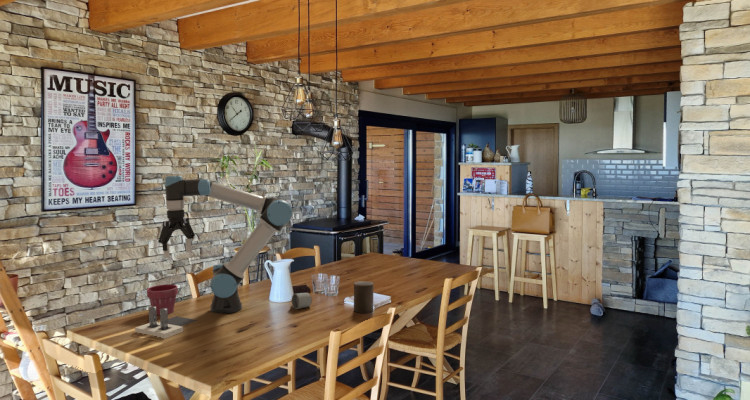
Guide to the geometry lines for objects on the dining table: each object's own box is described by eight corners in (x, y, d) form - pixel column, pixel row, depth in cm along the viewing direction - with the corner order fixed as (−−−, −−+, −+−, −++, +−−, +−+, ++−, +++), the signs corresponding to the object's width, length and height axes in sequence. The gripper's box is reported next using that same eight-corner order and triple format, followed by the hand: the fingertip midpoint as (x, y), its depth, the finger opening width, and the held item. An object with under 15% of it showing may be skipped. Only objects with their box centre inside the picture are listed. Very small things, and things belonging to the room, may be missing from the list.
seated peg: (154, 330, 233) (152, 305, 232) (158, 331, 232) (157, 306, 231) (148, 332, 230) (147, 307, 229) (153, 333, 229) (152, 308, 228)
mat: (176, 317, 252) (176, 316, 252) (198, 320, 246) (198, 320, 246) (152, 325, 240) (152, 324, 240) (174, 329, 234) (174, 328, 234)
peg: (164, 332, 230) (163, 307, 229) (169, 333, 229) (168, 308, 228) (159, 334, 227) (158, 309, 226) (164, 335, 226) (163, 310, 225)
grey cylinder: (313, 307, 267) (312, 292, 266) (299, 310, 261) (298, 295, 261) (301, 303, 275) (301, 289, 274) (288, 306, 269) (287, 291, 269)
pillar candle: (361, 314, 254) (361, 283, 253) (349, 309, 262) (350, 279, 261) (377, 311, 260) (377, 281, 259) (365, 306, 268) (366, 277, 267)
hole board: (154, 326, 238) (154, 321, 238) (183, 332, 230) (183, 326, 230) (135, 333, 229) (134, 327, 229) (164, 339, 221) (164, 333, 221)
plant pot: (143, 313, 259) (141, 287, 258) (171, 307, 269) (169, 282, 268) (155, 319, 249) (153, 292, 248) (183, 312, 259) (182, 287, 258)
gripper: (188, 206, 256) (191, 250, 257) (147, 212, 233) (150, 259, 235) (201, 206, 253) (203, 250, 254) (160, 212, 230) (163, 260, 232)
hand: (178, 255), depth 244 cm, fingers open, 13 cm apart
